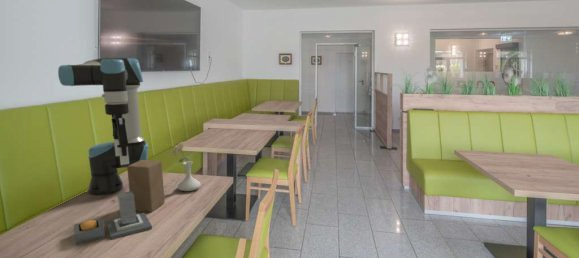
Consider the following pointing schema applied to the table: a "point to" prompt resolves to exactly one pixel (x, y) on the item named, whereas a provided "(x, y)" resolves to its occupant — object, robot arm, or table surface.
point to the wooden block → (146, 184)
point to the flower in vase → (189, 181)
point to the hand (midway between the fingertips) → (122, 159)
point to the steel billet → (127, 208)
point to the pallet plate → (128, 226)
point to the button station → (89, 232)
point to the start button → (88, 225)
